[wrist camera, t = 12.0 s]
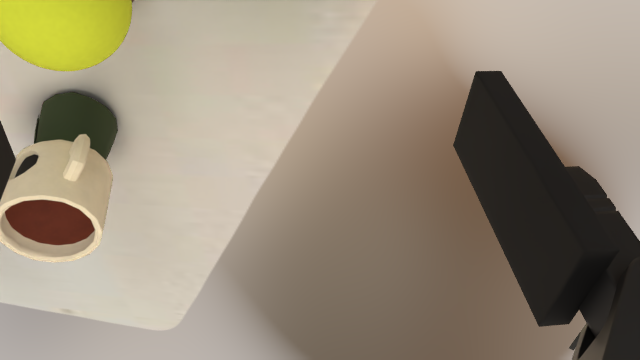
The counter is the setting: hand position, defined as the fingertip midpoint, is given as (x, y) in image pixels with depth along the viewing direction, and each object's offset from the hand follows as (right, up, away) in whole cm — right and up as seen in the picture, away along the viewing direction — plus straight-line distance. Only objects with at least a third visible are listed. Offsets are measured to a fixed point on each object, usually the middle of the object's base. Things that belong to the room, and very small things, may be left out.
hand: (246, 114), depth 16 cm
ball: (-13, +9, +17) cm, 23 cm away
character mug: (-19, +4, +33) cm, 38 cm away
